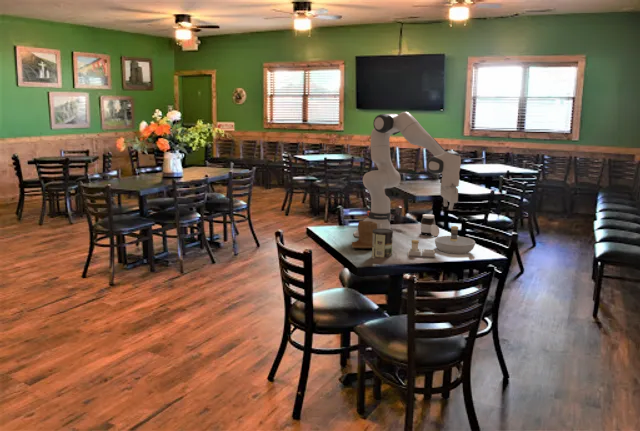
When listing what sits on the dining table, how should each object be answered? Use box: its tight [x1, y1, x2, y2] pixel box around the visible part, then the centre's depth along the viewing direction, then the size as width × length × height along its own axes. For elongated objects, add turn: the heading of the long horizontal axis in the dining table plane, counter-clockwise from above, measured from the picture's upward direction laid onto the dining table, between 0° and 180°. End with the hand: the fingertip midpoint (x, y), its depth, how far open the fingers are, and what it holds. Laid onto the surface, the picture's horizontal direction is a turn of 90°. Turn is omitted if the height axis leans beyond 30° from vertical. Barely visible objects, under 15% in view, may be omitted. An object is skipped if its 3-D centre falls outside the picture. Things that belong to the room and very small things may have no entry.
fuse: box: [411, 239, 420, 251], centre depth 286 cm, size 4×4×8 cm
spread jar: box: [420, 213, 440, 237], centre depth 338 cm, size 12×11×12 cm
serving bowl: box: [434, 235, 476, 255], centre depth 298 cm, size 21×21×7 cm
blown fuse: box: [450, 225, 459, 242], centre depth 296 cm, size 4×4×8 cm
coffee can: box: [371, 228, 394, 259], centre depth 285 cm, size 10×10×14 cm
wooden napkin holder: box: [351, 220, 377, 249], centre depth 304 cm, size 15×12×15 cm
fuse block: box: [407, 247, 437, 260], centre depth 287 cm, size 14×10×4 cm
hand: (447, 208), depth 298 cm, fingers open, 8 cm apart
